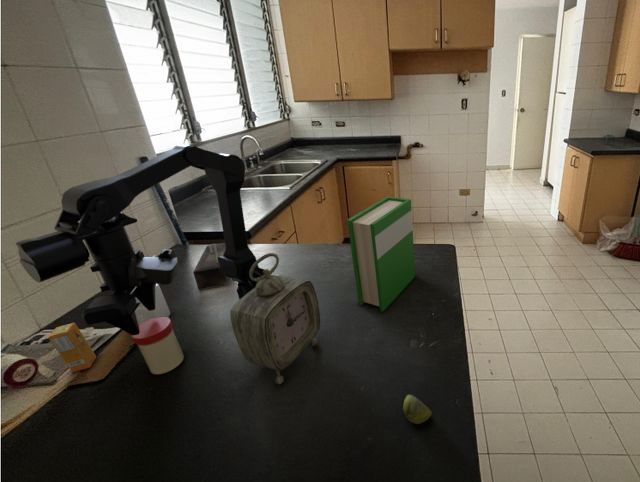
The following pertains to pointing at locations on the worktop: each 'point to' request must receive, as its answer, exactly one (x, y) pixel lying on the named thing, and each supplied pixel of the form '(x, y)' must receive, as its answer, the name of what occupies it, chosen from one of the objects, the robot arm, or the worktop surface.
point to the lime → (415, 410)
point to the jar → (159, 311)
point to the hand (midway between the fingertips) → (144, 321)
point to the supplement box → (72, 347)
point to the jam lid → (153, 331)
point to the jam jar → (162, 354)
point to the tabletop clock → (276, 319)
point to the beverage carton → (210, 267)
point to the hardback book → (382, 250)
